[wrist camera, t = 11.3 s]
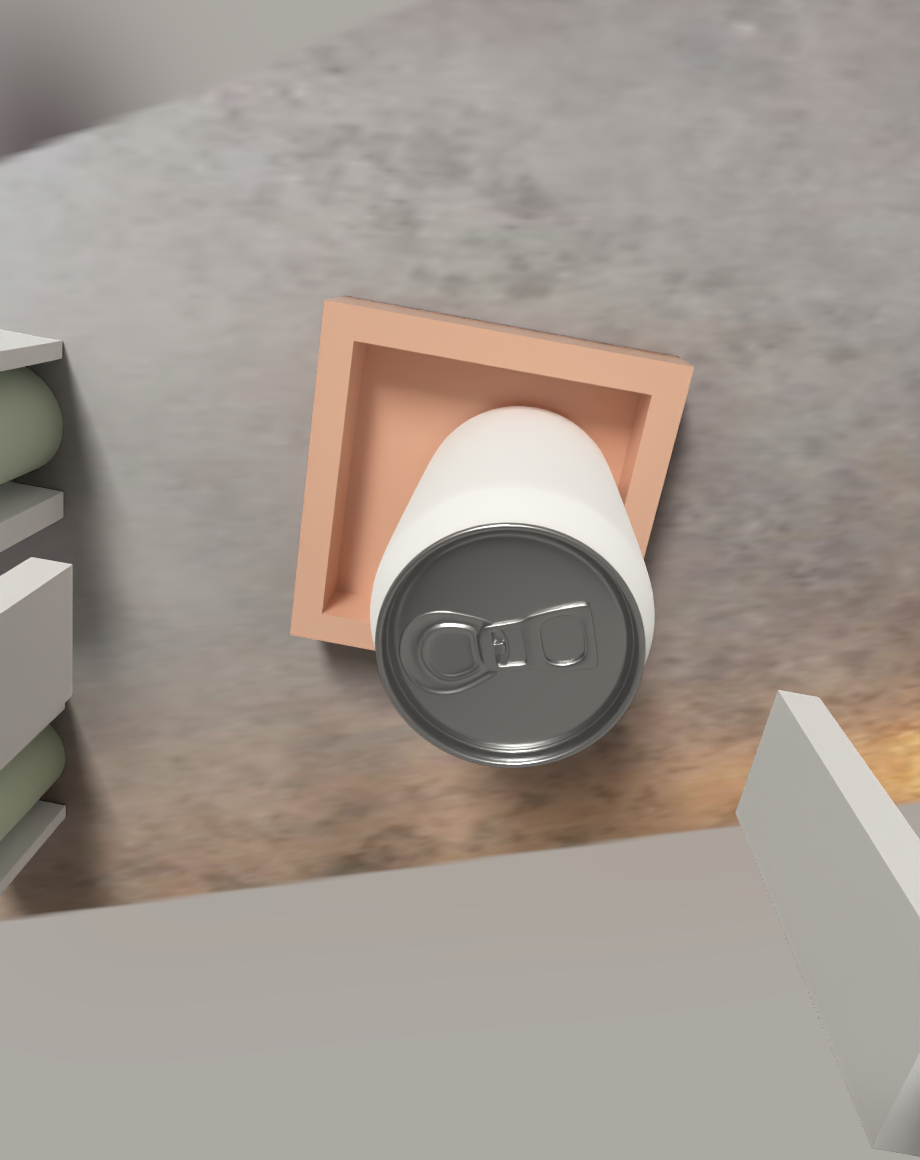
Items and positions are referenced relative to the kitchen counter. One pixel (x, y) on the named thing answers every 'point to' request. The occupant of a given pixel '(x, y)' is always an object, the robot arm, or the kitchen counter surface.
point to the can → (513, 595)
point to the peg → (29, 777)
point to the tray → (433, 411)
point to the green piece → (27, 423)
